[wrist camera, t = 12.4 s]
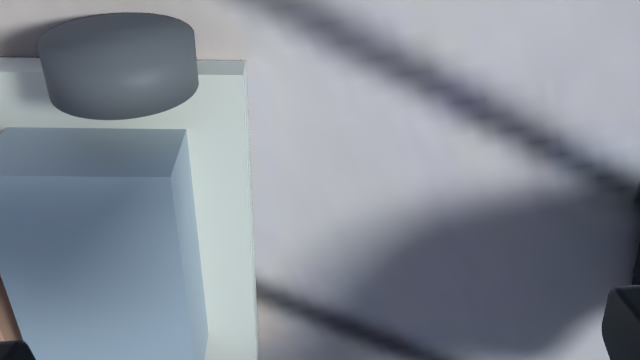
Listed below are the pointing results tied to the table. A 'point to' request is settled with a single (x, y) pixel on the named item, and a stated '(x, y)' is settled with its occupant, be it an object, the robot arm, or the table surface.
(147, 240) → the chassis
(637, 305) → the robot arm
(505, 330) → the table surface
